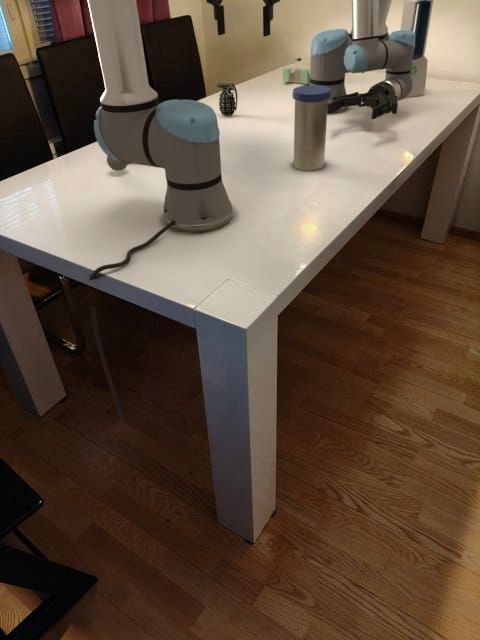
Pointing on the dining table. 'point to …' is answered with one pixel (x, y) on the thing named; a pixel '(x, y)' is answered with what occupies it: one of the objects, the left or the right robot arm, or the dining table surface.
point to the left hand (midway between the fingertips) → (243, 35)
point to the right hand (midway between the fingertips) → (350, 111)
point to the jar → (310, 134)
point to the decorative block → (297, 72)
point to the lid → (311, 93)
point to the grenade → (227, 99)
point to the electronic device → (418, 39)
